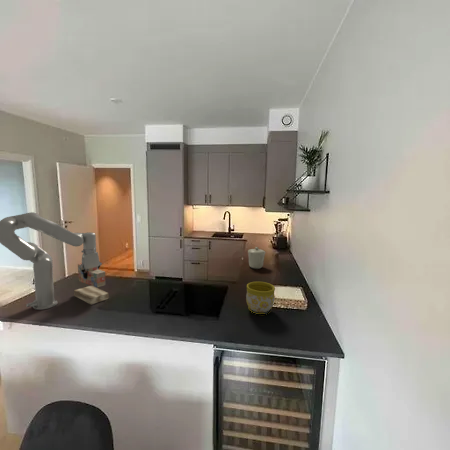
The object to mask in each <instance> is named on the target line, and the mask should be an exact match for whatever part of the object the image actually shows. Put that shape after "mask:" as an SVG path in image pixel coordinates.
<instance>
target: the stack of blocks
mask: <svg viewBox="0 0 450 450" xmlns="http://www.w3.org/2000/svg"><path fill="white" fill-rule="evenodd" d="M81 264H82V262H81V263H78V264H77V275H78V281H79V282H81V283H83V284H87V285H88V286H94V287H96V288H99V287H103V286H106V271H104V270H102V269H99V270H98V269H97V267H95V268H90V269H87V272H86V273H87V279H85V278H84V277H83V272H82V271H80V270H79V269H78V268H79V266H80V265H81ZM82 269H83V268H82Z"/></svg>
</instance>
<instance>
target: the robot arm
mask: <svg viewBox="0 0 450 450" xmlns="http://www.w3.org/2000/svg"><path fill="white" fill-rule="evenodd" d="M25 228H29V229H32V230H34V231H36V232H39V233H42V234H45V235H47V236H49V237H52V238H53V239H55V240H58V241H61V242H62V243H65V244H68V245H69V246H72V247H77V248H78V247H81V246H82V250H81V252H80V253H82V255H81V263H82V264H81V263H80V264H81V265H80V266H79V268H78V267H77V270H78V269H79V270H80V271H82V272H83V277H84V278H85V279H87V273H86V272H87V269H90V268H95V267H97V269H98V270H100V267H101V266H102V265H103V263H102V262H100V258H99V253H98V252H97V242H96V240H97V237H96V236H97V235H96V233H95V232H92V231H91V232H72V231H71V230H68V229H66V228H64V227H62V226H61V225H60V224H58V223H57V222H54V221H52V220H50V219H47V218H45V217H43V216H40V215H39V214H38V213H36V212H32V211H31V212H25V213H22V214H16V215H11V216H6V217H4V218H2V219H0V244H1V245H2V246H3V247H5V248H6V249H8V250H9V251H10V252H11V253H13V254H15V255H16V256H17V257H18V258H20V259H21V260H23V261H29V262H31V263H32V269H33V278H34V279H33V280H34V293H35V299H33V301H32V302H28V303H26V304H25V305H26V308H28V307H29V308H32V309H34V310H36V311H37V310H42V311H43V310H47V309H51V308H53V307H55V306H57V304H58V300H57V299H55V289H54V284H55V283H54V269H53V268H54V264H53V257H52V256H51V255H50V254H49V253H48V252H47V251H45V250H44V249H43V248H41V247H40V246H38V245H37V243H34V242H32V241H28V242H27V241H26V240H24V239H23V238H22V237H20V236H19V235H17V234H16V232H15V231H16V230H20V229H21V230H22V229H25ZM82 268H83V269H82Z"/></svg>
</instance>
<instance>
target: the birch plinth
mask: <svg viewBox="0 0 450 450" xmlns="http://www.w3.org/2000/svg"><path fill="white" fill-rule="evenodd" d="M73 295H74V297H76V298H77V299H80V300H81V301H83V302H85V303H87V304H89V305H90V306H91V305H94V304H97V303H100V302H103V301H106V300H108V299H109V298H110V296H109V292H107V291H105V290H103V289H100V288H99V287H94V286H92V285H88V286H86V287H85V286H84V287H81V288H78V289H74V290H73Z"/></svg>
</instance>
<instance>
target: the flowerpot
mask: <svg viewBox="0 0 450 450" xmlns="http://www.w3.org/2000/svg"><path fill="white" fill-rule="evenodd" d="M275 290H276V287H275V286H274V285H273V284H271V283H270V282H265V281H252V282H248V283H247V284H246V295H245V297H246V298H245V300H246V304H247V306H248V310H249V311H251V312H250V313H252V312H253V311H254V312H253V313H256V312H258V313H256V314H265V313H264V312H267V311H269V310H270V309H271V310H272V308H273V306H274V304H275V303H274V302H275ZM252 310H253V311H252ZM253 313H252V314H253ZM256 314H255V315H256Z"/></svg>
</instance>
